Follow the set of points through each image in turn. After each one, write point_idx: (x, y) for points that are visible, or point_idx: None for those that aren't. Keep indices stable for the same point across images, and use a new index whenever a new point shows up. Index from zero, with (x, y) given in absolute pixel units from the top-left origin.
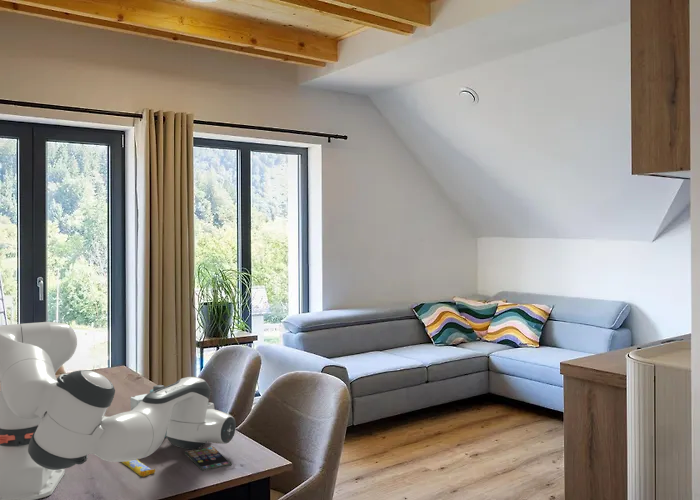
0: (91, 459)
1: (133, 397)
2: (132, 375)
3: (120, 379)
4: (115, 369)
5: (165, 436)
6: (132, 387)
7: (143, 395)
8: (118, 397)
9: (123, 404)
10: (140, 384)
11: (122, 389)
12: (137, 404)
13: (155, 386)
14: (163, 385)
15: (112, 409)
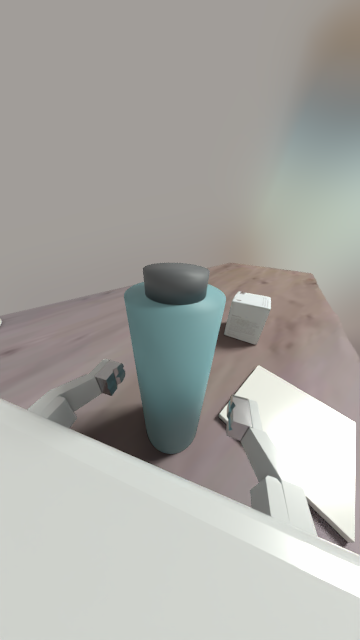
0: (6, 371)
1: (239, 293)
2: (312, 280)
3: (296, 279)
4: (303, 273)
5: (165, 450)
6: (296, 288)
7: (258, 297)
8: (268, 291)
9: None
10: (309, 288)
11: (284, 286)
12: (230, 307)
13: (169, 265)
14: (207, 273)
15: None
